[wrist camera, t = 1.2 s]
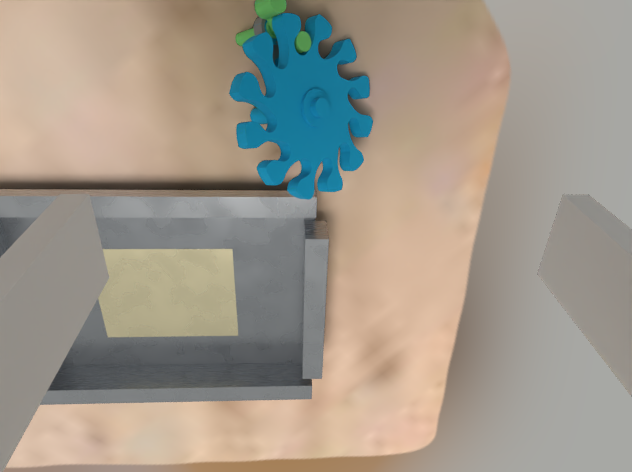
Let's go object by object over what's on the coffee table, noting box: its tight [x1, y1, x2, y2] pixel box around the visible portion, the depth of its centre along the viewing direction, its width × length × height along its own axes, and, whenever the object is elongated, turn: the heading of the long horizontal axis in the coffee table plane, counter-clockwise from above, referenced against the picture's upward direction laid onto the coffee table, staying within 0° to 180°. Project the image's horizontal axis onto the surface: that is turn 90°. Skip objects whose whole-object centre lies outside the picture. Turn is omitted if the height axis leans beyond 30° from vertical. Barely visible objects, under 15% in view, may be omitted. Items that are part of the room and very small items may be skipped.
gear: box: [229, 0, 373, 200], centre depth 28 cm, size 11×6×10 cm
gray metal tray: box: [0, 189, 329, 405], centre depth 35 cm, size 17×23×4 cm
